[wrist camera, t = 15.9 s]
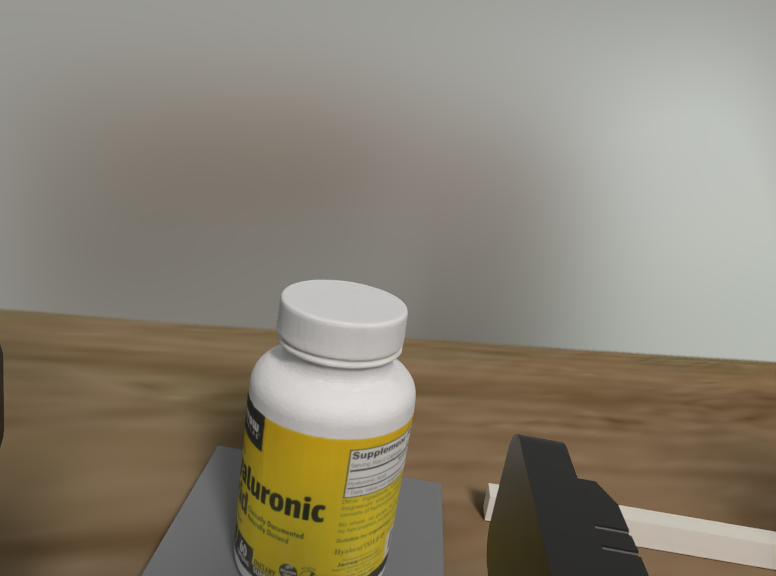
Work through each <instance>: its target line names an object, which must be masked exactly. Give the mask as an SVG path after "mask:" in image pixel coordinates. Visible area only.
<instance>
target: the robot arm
mask: <svg viewBox="0 0 776 576" xmlns="http://www.w3.org/2000/svg"><path fill="white" fill-rule="evenodd" d="M3 433H4V392H3V352H2V348H1V346H0V446H1V443H2V439H3ZM487 568H488V576H649V575H648V573H647V570H646V568H645V566H644V563H643V561H642V559H641V557H638V549H637V547H636V545H635V542H634V540H633V538H632V536H631V535H629V529H628V526H627V524H626V522H625V519H624V517H623V515H622V512H621V510H620V508H619V505H618V504H617V503H616V502H615V501H614V500H613V499H612V498H611V497H610V496H609V495H608V494H607V493H606V492H605V491H604V490H603V489H602V488H601V487H600V486H599V485H598V484H597V483H596V482H595V481H589V480H584V479H578V478H577V476H576V473H575V470H574V467H573V464H572V462H571V459H570V456H569V453H568V450H567V448H566V445H565V444H564V443H562V442H557V441H551V440H546V439H540V438H535V437H529V436H524V435H518V434H515V435H514V436H513V438H512V440H511V442H510V445H509V449H508V453H507V457H506V461H505V464H504V468H503V472H502V476H501V480H500V484H499V488H498V492H497V496H496V500H495V504H494V508H493V512H492V516H491V520H490V525H489V532H488V540H487Z"/></svg>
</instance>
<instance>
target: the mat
mask: <svg viewBox="0 0 776 576" xmlns="http://www.w3.org/2000/svg"><path fill="white" fill-rule="evenodd" d="M242 453H243V449H237V448H231V447H225V446H219V445H218V446H217V448H216V450H215V451H214V453H213V455H212V457H211V458H210V460H209V462H208V463H207V465H206V467H205V468H204V470H203V472H202V473H201V475H200V477H199V479H198V480H197V482H196V484H195V485H194V487H193V489H192V490H191V492H190V494H189V495H188V497H187V499H186V501H185V502H184V504H183V506H182V507H181V509H180V511H179V512H178V514H177V516H176V517H175V519H174V521H173V523H172V524H171V526H170V528H169V529H168V531H167V533H166V534H165V536H164V538H163V539H162V541H161V543H160V545H159V546H158V548H157V550H156V551H155V553H154V555H153V556H152V558H151V560H150V561H149V563H148V565H147V567H146V568H145V570H144V572H143V573H142V575H141V576H242V574H241V573H240V571H239V569H238V566H237V564H236V560H235V553H234V538H235V527H236V515H237V506H238V494H239V484H240V474H241V463H242ZM382 576H444V561H443V519H442V483H437V482H431V481H425V480H419V479H414V478H408V477H402V480H401V485H400V491H399V496H398V502H397V508H396V514H395V520H394V525H393V531H392V536H391V542H390V547H389V552H388V558H387V561H386V565H385V569H384V571H383V574H382Z"/></svg>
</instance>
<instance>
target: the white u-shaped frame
mask: <svg viewBox="0 0 776 576" xmlns="http://www.w3.org/2000/svg"><path fill="white" fill-rule="evenodd" d="M498 488H499V485H497V484H491V483H488V487H487V491H486V496H485V500H484V504H483V510H484V518H485V520H486V521H490V520H491V516H492V512H493V508H494V504H495V500H496V496H497V492H498ZM619 508H620V510H621V512H622V515H623V517H624V519H625V522H626V524H627V526H628V529H629V535H631V536H632V538H633V540H634V542H635V545H636V546H639V547H645V548H650V549H656V550H662V551H668V552H674V553H680V554H686V555H692V556H697V557H703V558H709V559H715V560H721V561H727V562H733V563H738V564H744V565H750V566H756V567H762V568H768V569H774V570H776V532H774V531H768V530H762V529H756V528H750V527H744V526H738V525H733V524H727V523H721V522H715V521H709V520H703V519H697V518H691V517H685V516H680V515H674V514H668V513H662V512H656V511H650V510H644V509H638V508H632V507H626V506H621V505H619Z"/></svg>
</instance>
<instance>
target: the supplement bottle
mask: <svg viewBox="0 0 776 576" xmlns="http://www.w3.org/2000/svg"><path fill="white" fill-rule="evenodd" d="M407 316H408V312H407V307H406V305H405V304H404V303H403V302H402V301H401V300H400V299H398V298H397V297H395V296H394V295H392V294H390V293H388V292H386V291H383V290H380V289H377V288H374V287H371V286H367V285H363V284H359V283H354V282H348V281H338V280H309V281H303V282H298V283H295V284H293V285H290V286H288V287H287V288H285V290H283V292H282V294H281V296H280V305H279V315H278V320H277V337H278V341H279V342H280V345H278V346H275V347H274V348H272V349H270V350H269V351H267V352H266V353H265V354H264V355H263V356H262V357H261V358H260V359H259V360H258V361H257V363H256V364H255V366H254V368H253V370H252V373H251V377H250V384H249V391H248V398H247V413H246V421H245V433H244V443H243V453H242V463H241V474H240V484H239V494H238V506H237V515H236V527H235V538H234V553H235V560H236V564H237V566H238V569H239V571H240V573H241V574H242V576H382V574H383V571H384V569H385V565H386V561H387V558H388V552H389V547H390V542H391V536H392V531H393V525H394V520H395V514H396V508H397V502H398V496H399V491H400V485H401V480H402V474H403V469H404V464H405V457H406V453H407V447H408V441H409V436H410V431H411V425H412V419H413V415H414V406H415V398H416V392H415V385H414V382H413V379H412V377H411V375H410V373H409V372H408V371H407V369H406V368H405V367H404V366H403V364H402V363H400V362H399V361H398V360H397V359H396V358H397V357H398V356H399V355H400V354H401V351H402V345H403V342H404V337H405V330H406V322H407Z"/></svg>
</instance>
